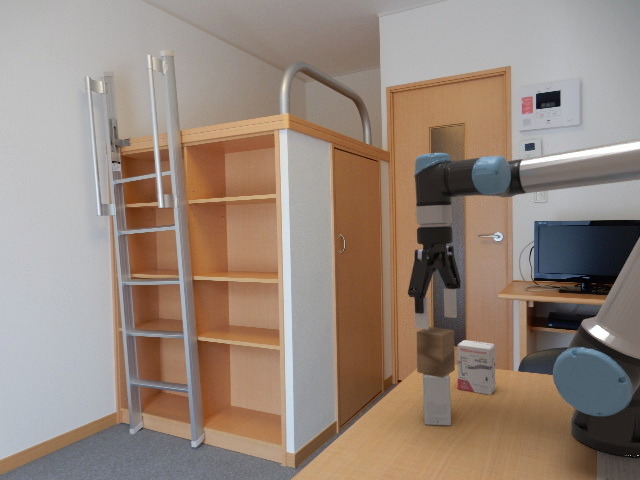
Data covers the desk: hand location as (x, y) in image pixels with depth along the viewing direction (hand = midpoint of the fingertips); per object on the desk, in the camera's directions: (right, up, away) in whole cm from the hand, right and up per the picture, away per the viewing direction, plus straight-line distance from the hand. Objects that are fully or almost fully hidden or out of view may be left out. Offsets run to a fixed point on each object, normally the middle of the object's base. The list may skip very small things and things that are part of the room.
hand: (437, 322), depth 103 cm
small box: (0, -22, +1) cm, 22 cm away
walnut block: (0, -11, +1) cm, 11 cm away
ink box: (+15, -21, +18) cm, 31 cm away
